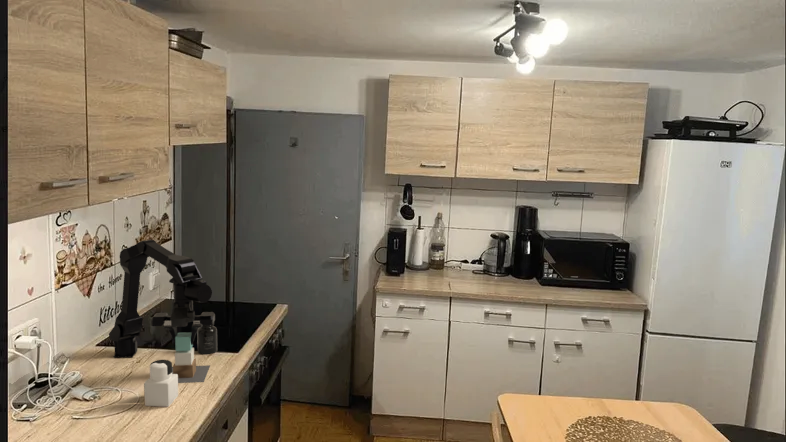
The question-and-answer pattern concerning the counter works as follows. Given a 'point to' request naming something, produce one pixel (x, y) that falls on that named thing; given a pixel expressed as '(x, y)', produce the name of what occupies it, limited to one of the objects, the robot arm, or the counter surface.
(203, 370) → the mat
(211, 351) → the supplement bottle
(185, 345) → the teal cube
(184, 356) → the tower mid
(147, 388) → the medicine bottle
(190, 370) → the tower base
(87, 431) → the counter surface
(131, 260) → the robot arm
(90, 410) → the counter surface
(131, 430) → the counter surface
